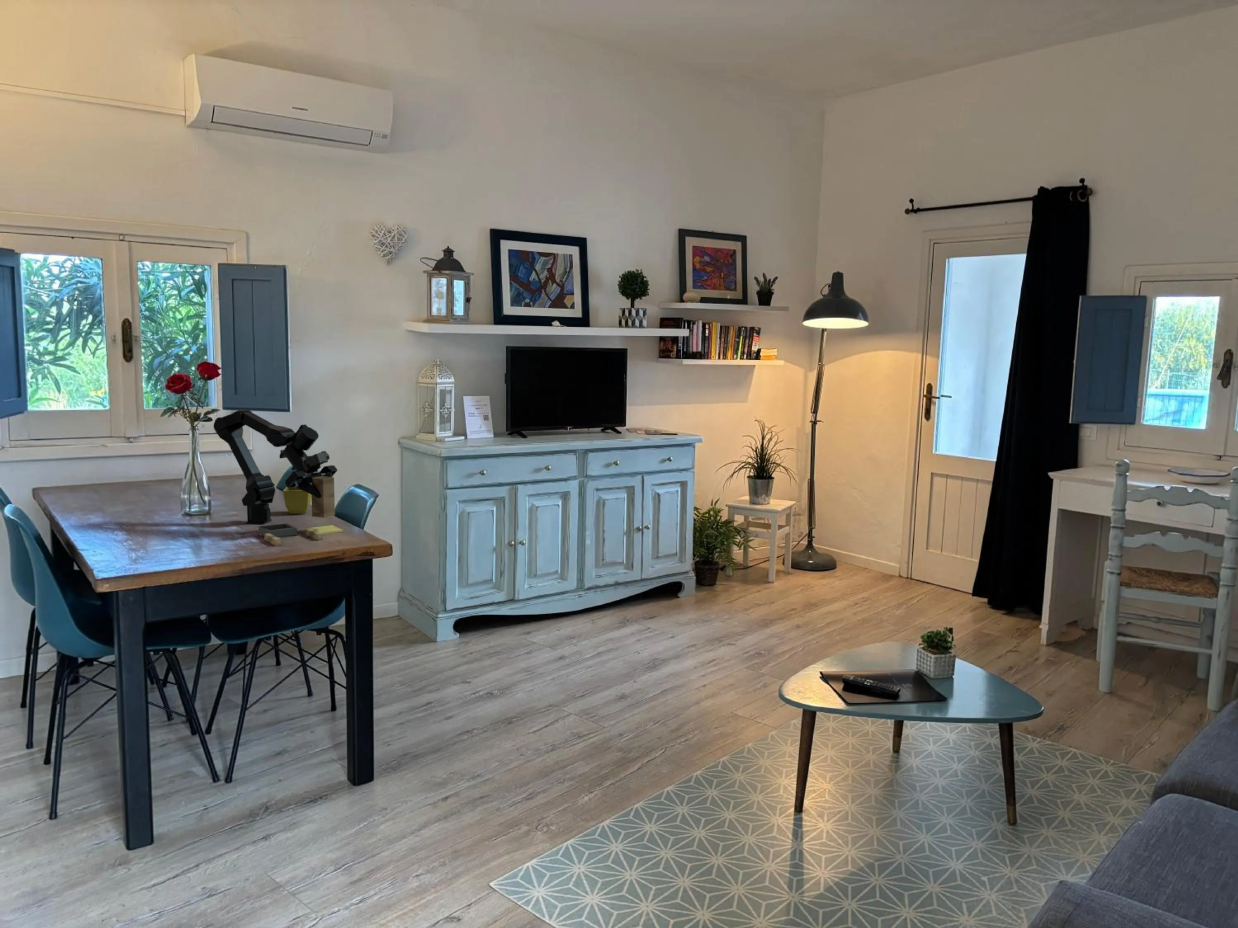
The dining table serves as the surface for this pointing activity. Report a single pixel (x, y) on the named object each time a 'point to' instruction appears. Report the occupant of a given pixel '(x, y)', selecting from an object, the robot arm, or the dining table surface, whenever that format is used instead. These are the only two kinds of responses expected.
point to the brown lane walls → (277, 541)
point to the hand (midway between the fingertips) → (326, 496)
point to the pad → (327, 529)
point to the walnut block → (323, 497)
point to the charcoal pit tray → (278, 530)
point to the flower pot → (296, 500)
